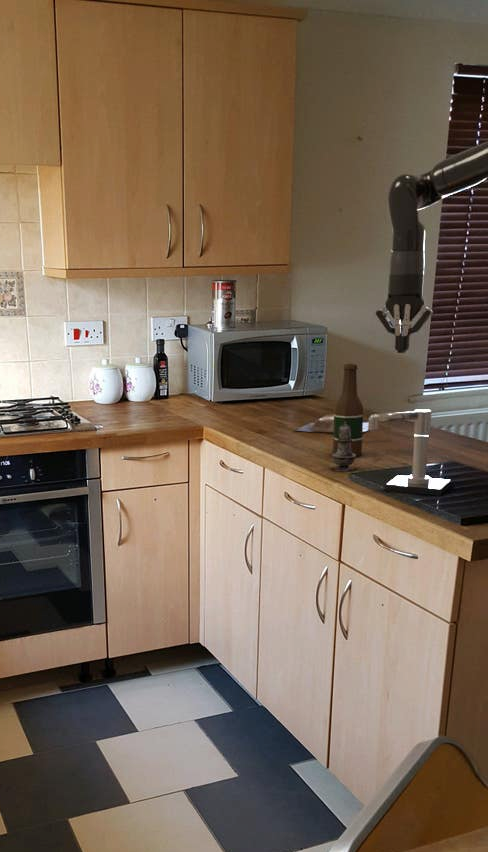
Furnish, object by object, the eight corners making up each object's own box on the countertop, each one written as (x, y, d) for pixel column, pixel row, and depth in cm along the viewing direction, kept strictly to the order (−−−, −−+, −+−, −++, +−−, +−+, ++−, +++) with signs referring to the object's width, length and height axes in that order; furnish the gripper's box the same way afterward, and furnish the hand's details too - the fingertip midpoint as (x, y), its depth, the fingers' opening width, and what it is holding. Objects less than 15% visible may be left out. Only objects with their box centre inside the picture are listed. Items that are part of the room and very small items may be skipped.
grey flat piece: (377, 424, 283) (378, 412, 281) (359, 434, 266) (360, 421, 265) (316, 421, 292) (316, 409, 291) (294, 431, 275) (295, 418, 274)
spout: (425, 432, 196) (426, 409, 194) (432, 435, 192) (434, 411, 191) (364, 436, 193) (365, 412, 191) (371, 439, 190) (372, 415, 188)
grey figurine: (336, 466, 223) (337, 419, 219) (358, 467, 220) (360, 420, 217) (328, 470, 218) (329, 422, 215) (351, 472, 216) (353, 423, 212)
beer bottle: (364, 453, 238) (368, 363, 231) (358, 458, 232) (362, 365, 224) (336, 451, 241) (339, 362, 234) (329, 457, 235) (332, 365, 227)
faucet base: (450, 486, 199) (454, 433, 195) (439, 495, 191) (443, 440, 187) (397, 481, 204) (400, 430, 201) (385, 490, 196) (388, 437, 192)
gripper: (372, 273, 195) (368, 353, 200) (432, 271, 188) (427, 354, 194) (381, 273, 201) (378, 351, 206) (440, 271, 195) (434, 351, 200)
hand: (401, 352), depth 200 cm, fingers closed
